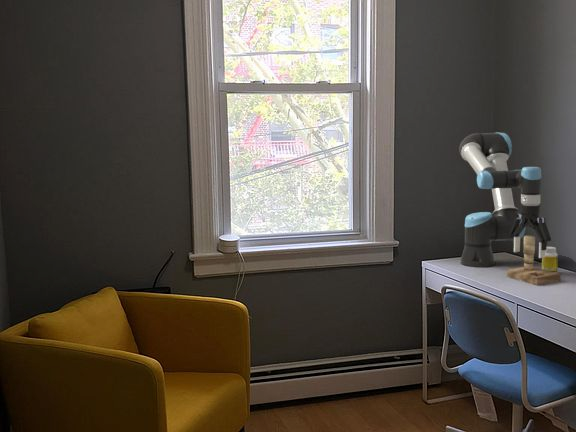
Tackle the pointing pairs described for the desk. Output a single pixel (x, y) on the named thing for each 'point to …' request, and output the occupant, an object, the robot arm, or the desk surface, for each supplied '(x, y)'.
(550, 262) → the pill bottle
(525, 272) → the board
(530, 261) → the leg peg
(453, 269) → the desk surface
